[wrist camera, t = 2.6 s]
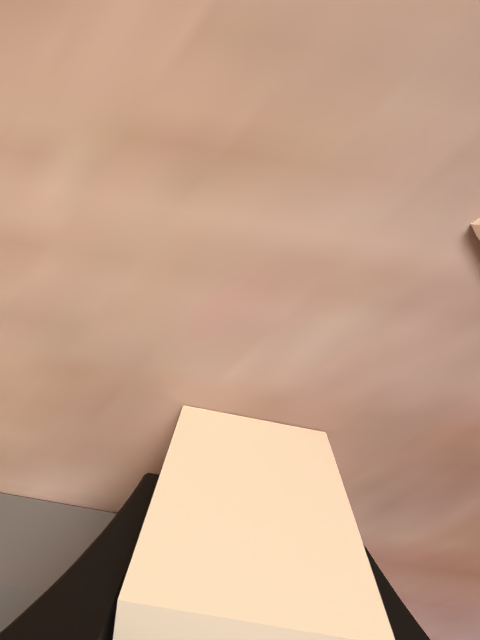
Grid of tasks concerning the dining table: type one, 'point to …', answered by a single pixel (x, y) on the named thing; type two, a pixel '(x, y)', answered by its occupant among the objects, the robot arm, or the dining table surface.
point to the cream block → (249, 541)
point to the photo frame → (476, 227)
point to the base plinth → (40, 547)
